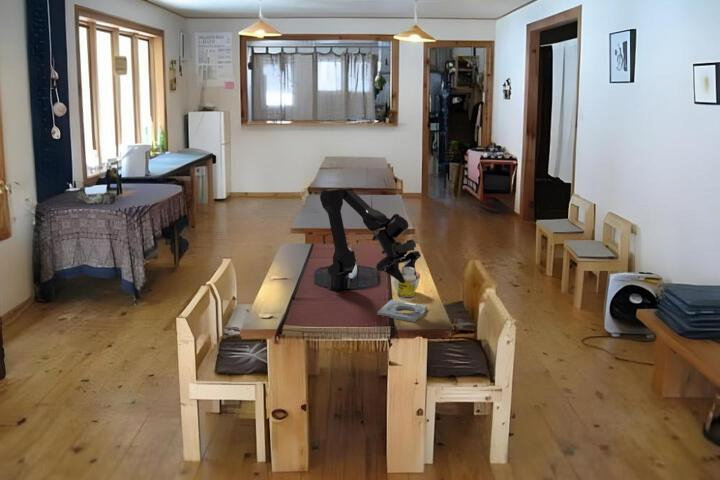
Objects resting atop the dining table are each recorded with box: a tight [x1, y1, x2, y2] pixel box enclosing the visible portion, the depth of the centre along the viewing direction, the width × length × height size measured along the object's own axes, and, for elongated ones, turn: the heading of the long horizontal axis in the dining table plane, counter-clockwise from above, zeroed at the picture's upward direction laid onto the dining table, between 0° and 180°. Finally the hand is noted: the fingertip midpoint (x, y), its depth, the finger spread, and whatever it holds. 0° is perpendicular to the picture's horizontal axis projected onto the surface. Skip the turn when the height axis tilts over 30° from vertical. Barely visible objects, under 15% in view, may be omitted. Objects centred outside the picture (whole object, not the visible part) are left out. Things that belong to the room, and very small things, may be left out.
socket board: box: [376, 299, 428, 323], centre depth 274 cm, size 15×16×1 cm
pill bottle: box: [396, 266, 416, 301], centre depth 271 cm, size 6×6×11 cm
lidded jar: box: [392, 269, 421, 293], centre depth 296 cm, size 11×11×9 cm
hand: (410, 281), depth 270 cm, fingers closed on pill bottle, 6 cm apart
